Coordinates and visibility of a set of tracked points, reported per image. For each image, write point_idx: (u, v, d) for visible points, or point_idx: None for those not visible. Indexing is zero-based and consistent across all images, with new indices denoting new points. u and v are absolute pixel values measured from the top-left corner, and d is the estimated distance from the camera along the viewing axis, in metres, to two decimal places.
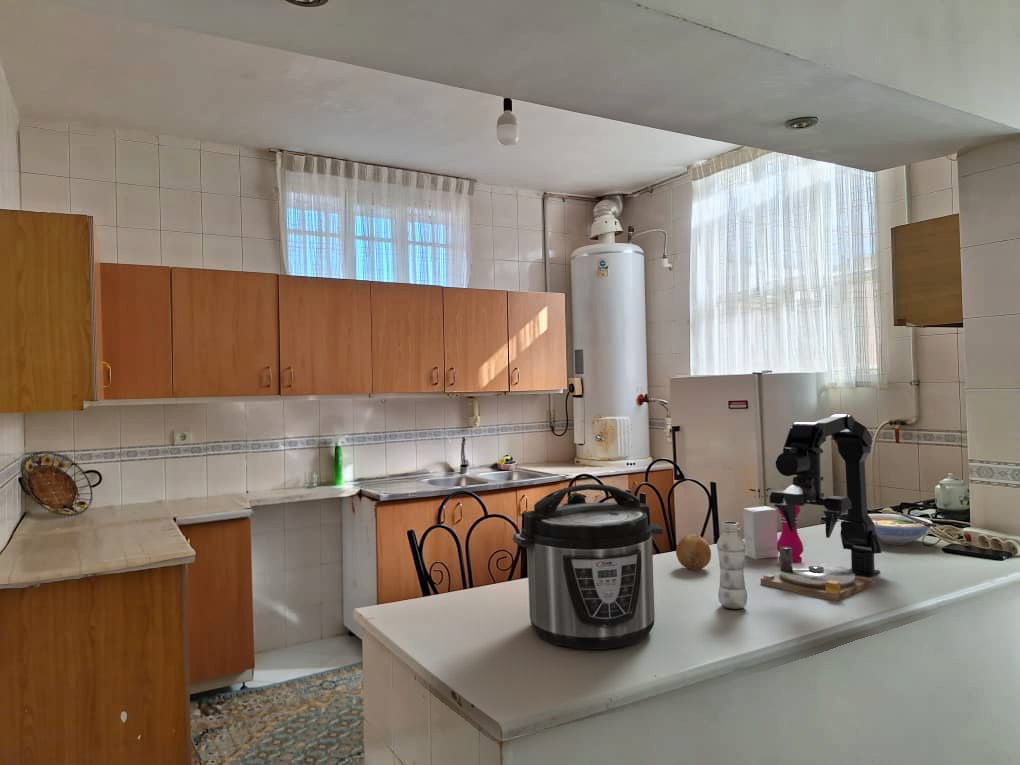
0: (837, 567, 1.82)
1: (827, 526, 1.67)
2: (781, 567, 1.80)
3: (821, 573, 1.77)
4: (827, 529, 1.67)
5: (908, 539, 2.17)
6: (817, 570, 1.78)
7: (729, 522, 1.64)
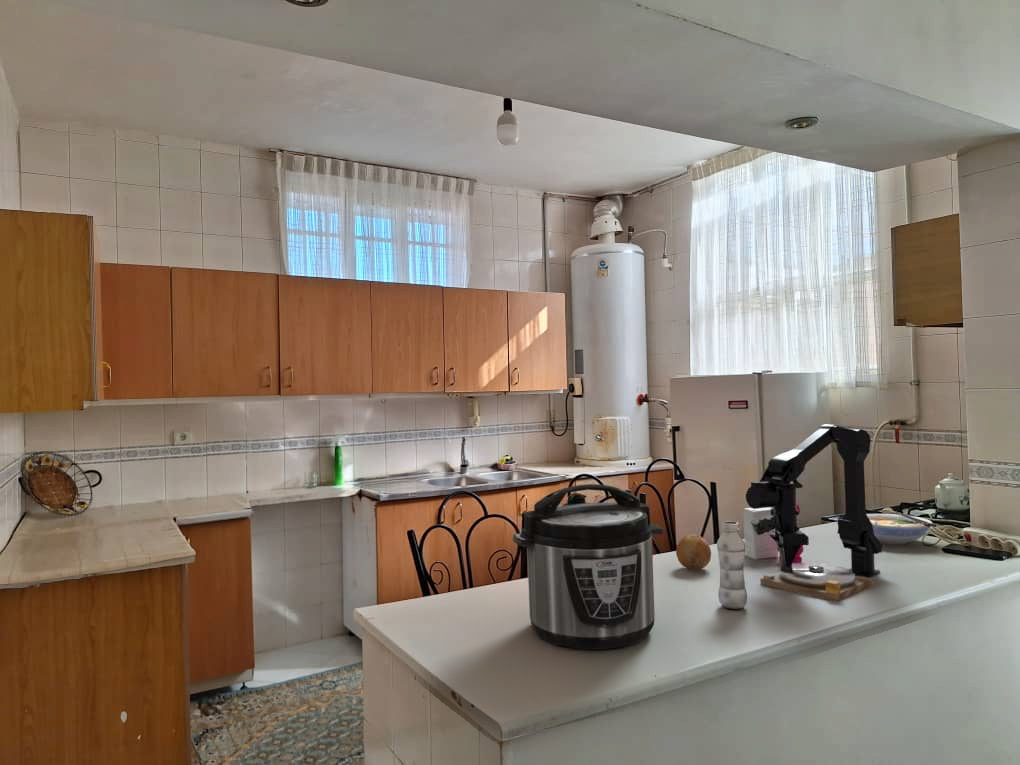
0: (837, 567, 1.82)
1: (784, 556, 1.78)
2: (781, 567, 1.80)
3: (821, 573, 1.77)
4: (784, 558, 1.78)
5: (908, 539, 2.17)
6: (817, 570, 1.78)
7: (729, 522, 1.64)
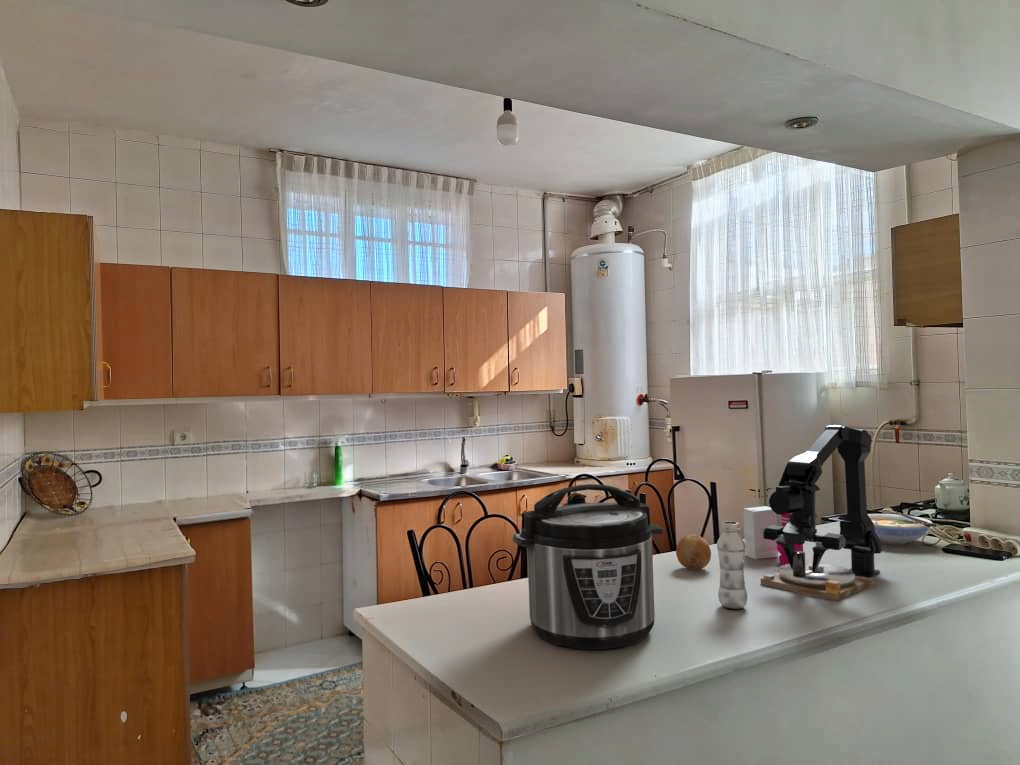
0: None
1: (814, 562, 1.72)
2: (797, 573, 1.74)
3: (824, 572, 1.78)
4: (814, 565, 1.72)
5: (908, 539, 2.17)
6: (821, 570, 1.78)
7: (729, 522, 1.64)
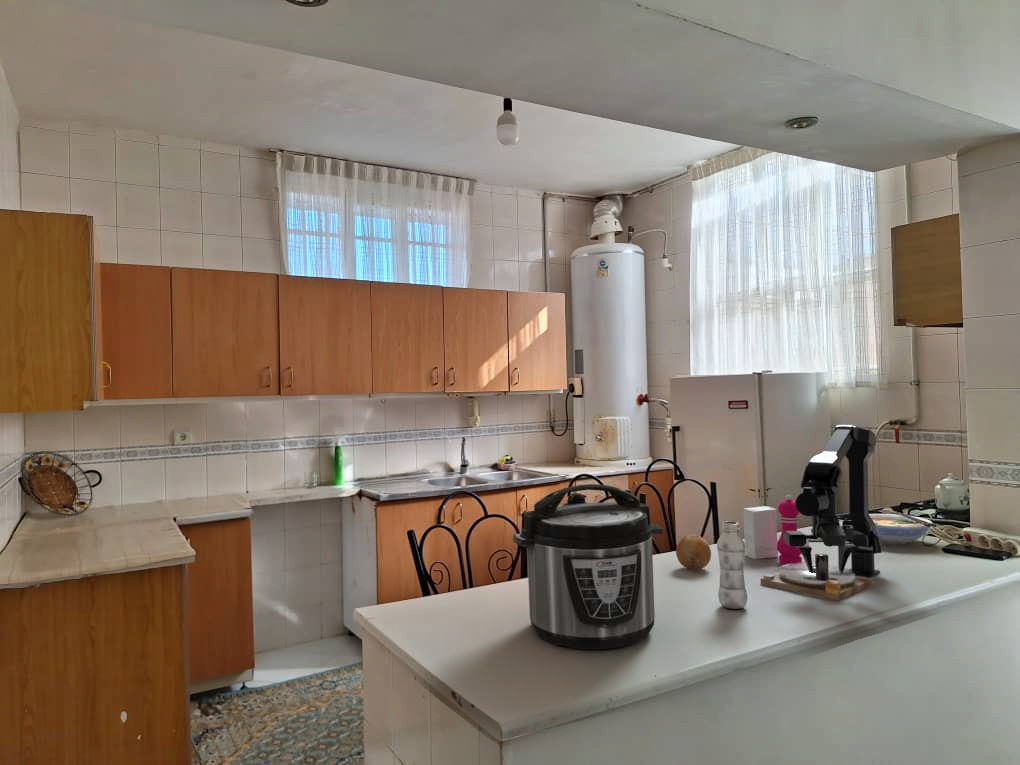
0: (796, 564, 1.87)
1: (844, 562, 1.70)
2: (825, 576, 1.71)
3: None
4: (843, 565, 1.70)
5: (908, 539, 2.17)
6: None
7: (729, 522, 1.64)
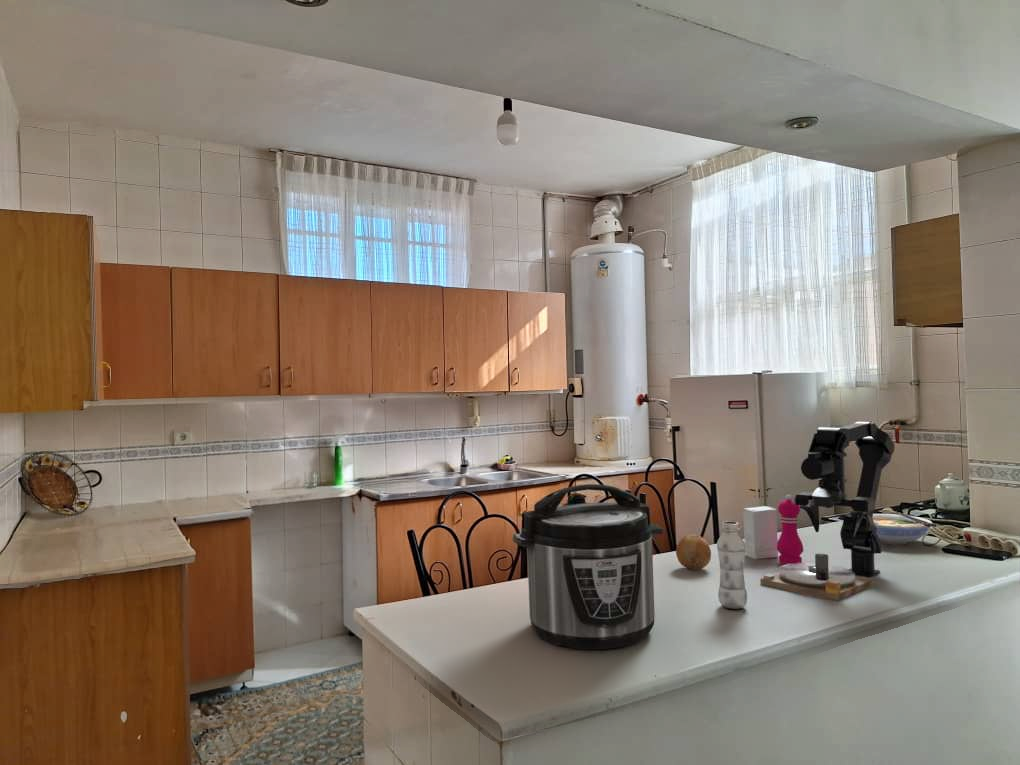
0: (796, 564, 1.87)
1: (853, 526, 1.77)
2: (825, 576, 1.71)
3: None
4: (853, 529, 1.77)
5: (908, 539, 2.17)
6: None
7: (729, 522, 1.64)
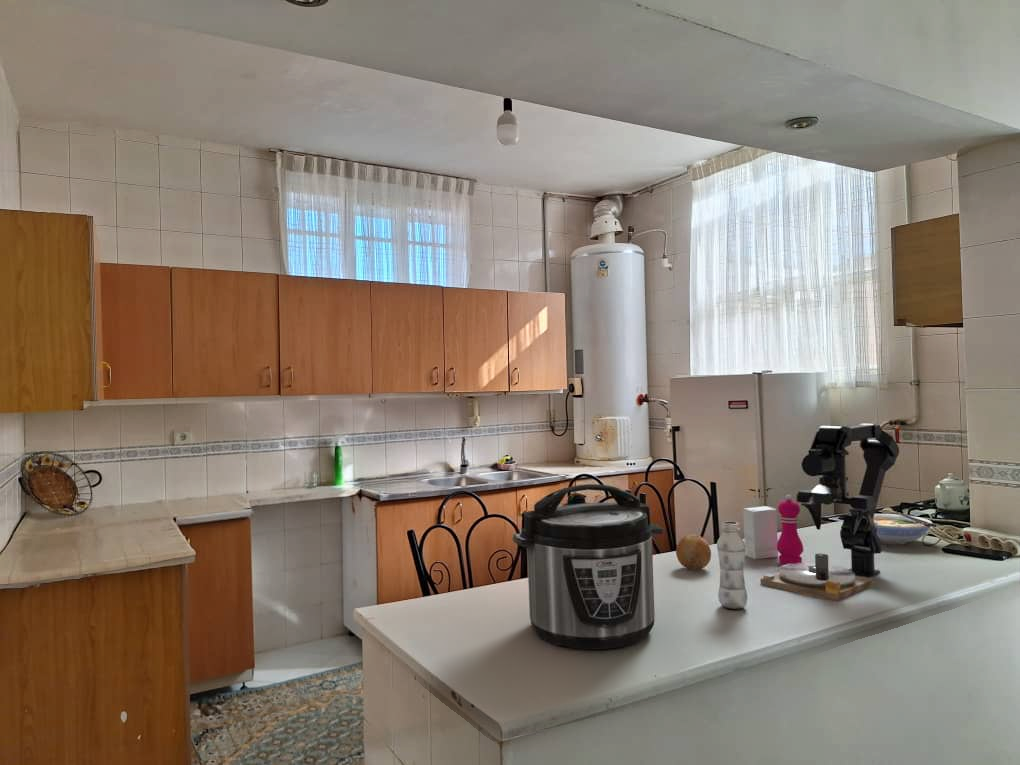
0: (796, 564, 1.87)
1: (852, 524, 1.78)
2: (825, 576, 1.71)
3: None
4: (852, 526, 1.78)
5: (908, 539, 2.17)
6: None
7: (729, 522, 1.64)
